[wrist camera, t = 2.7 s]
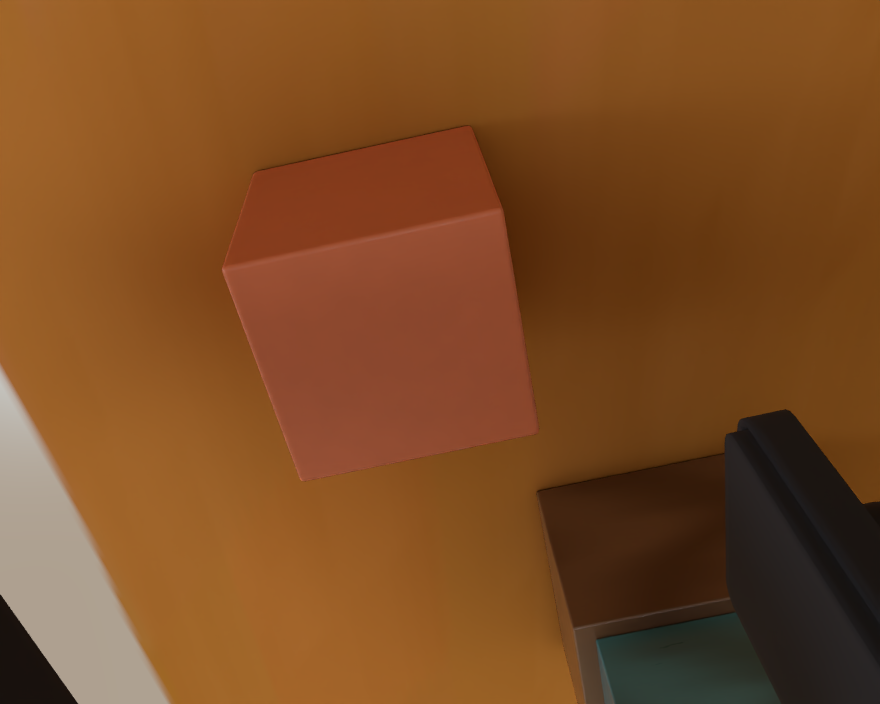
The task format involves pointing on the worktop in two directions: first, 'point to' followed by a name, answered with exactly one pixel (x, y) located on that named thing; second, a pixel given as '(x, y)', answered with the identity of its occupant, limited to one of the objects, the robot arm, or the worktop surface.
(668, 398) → the worktop surface
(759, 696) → the block stack
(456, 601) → the worktop surface
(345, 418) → the toy cube
